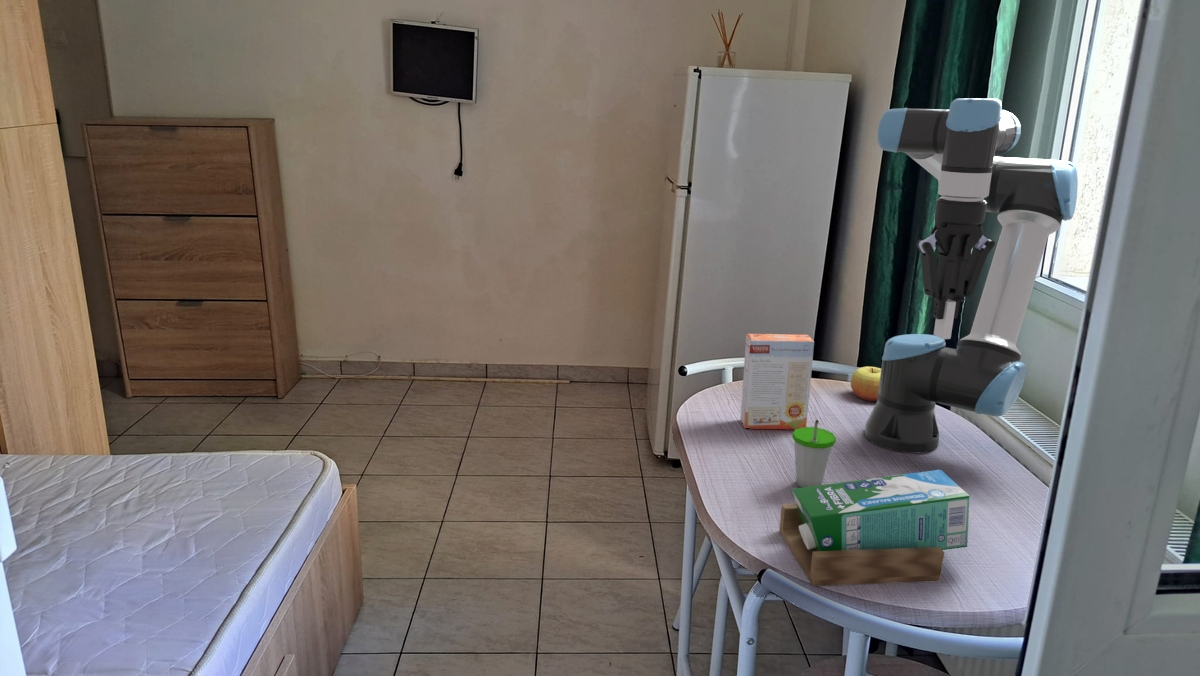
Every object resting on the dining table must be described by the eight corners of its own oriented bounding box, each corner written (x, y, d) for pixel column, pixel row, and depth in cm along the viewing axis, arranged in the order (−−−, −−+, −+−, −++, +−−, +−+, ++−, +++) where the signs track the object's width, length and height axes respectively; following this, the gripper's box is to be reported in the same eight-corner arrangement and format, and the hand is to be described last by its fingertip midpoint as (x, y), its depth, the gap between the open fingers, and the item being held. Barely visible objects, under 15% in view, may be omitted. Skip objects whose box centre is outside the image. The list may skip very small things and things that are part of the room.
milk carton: (939, 517, 130) (792, 537, 129) (940, 468, 127) (790, 488, 126) (967, 547, 121) (810, 568, 120) (970, 495, 119) (809, 517, 118)
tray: (892, 526, 134) (895, 500, 133) (939, 581, 119) (944, 552, 118) (779, 530, 132) (781, 504, 131) (812, 586, 117) (816, 557, 116)
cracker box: (800, 420, 179) (809, 333, 173) (806, 431, 174) (815, 341, 168) (739, 419, 179) (746, 331, 173) (743, 429, 174) (750, 339, 168)
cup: (801, 471, 154) (809, 400, 150) (837, 485, 149) (846, 412, 144) (779, 484, 149) (786, 411, 144) (816, 499, 143) (824, 423, 139)
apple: (851, 403, 191) (855, 372, 189) (846, 389, 200) (850, 359, 198) (893, 406, 189) (898, 375, 187) (886, 392, 199) (890, 362, 196)
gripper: (984, 194, 131) (963, 328, 138) (912, 195, 129) (895, 331, 136) (1013, 200, 124) (990, 341, 131) (938, 201, 122) (918, 345, 129)
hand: (942, 336), depth 133 cm, fingers closed
